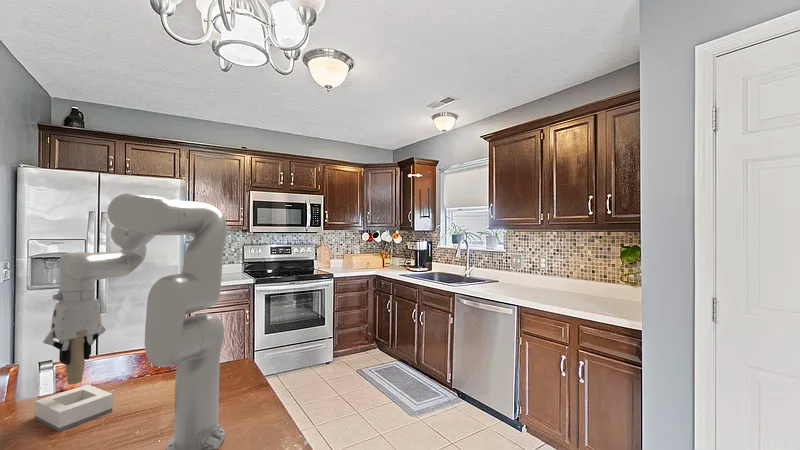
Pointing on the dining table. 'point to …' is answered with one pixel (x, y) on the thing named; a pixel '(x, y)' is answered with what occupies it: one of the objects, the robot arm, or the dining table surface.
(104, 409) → the socket stand
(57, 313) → the robot arm
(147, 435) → the dining table surface
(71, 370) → the handle
